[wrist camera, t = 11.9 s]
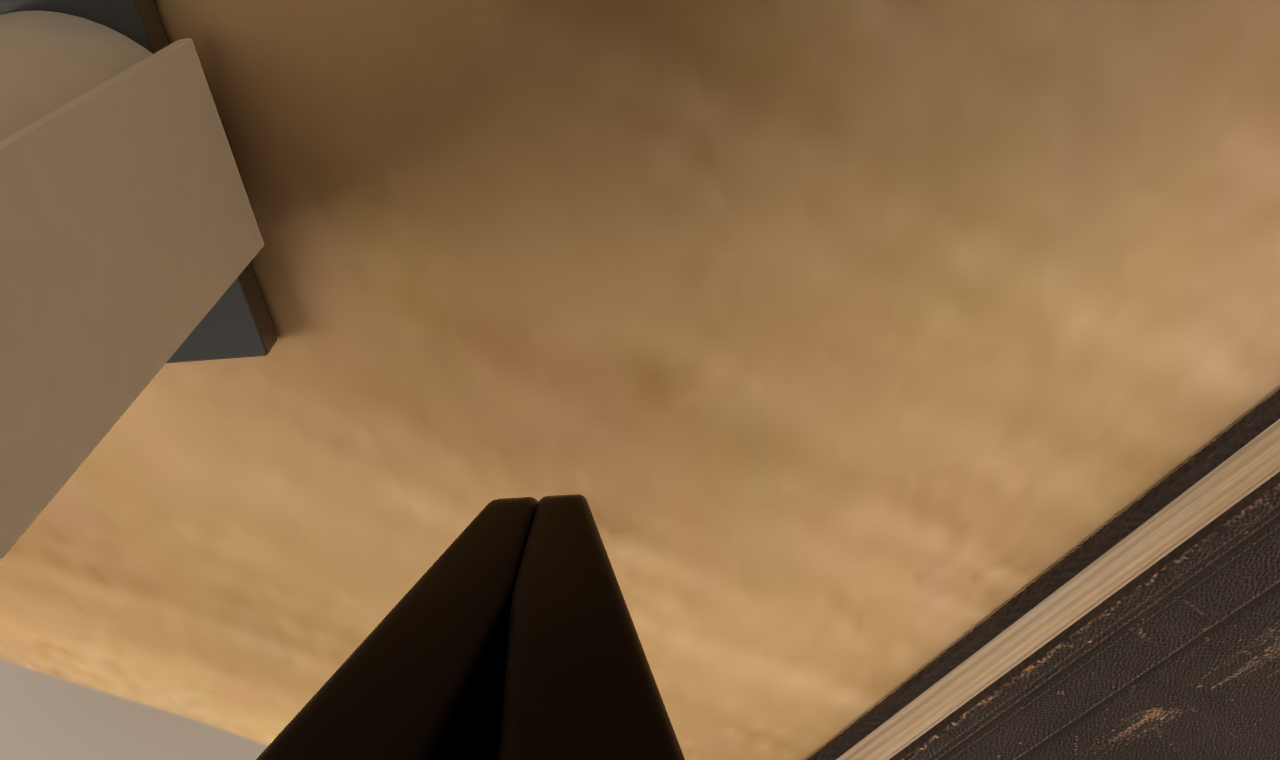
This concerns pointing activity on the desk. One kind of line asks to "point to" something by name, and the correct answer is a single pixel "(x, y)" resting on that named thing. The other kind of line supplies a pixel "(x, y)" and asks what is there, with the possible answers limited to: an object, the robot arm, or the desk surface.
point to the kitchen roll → (100, 237)
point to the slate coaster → (241, 310)
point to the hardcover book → (1122, 636)
